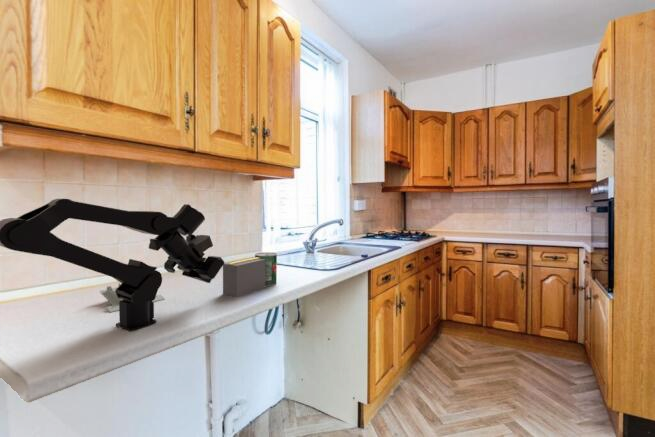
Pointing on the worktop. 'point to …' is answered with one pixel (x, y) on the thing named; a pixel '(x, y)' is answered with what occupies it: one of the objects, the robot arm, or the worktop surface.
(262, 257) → the canned tomato
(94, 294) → the worktop surface
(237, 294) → the grey rectangular box
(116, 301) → the metal bracket
